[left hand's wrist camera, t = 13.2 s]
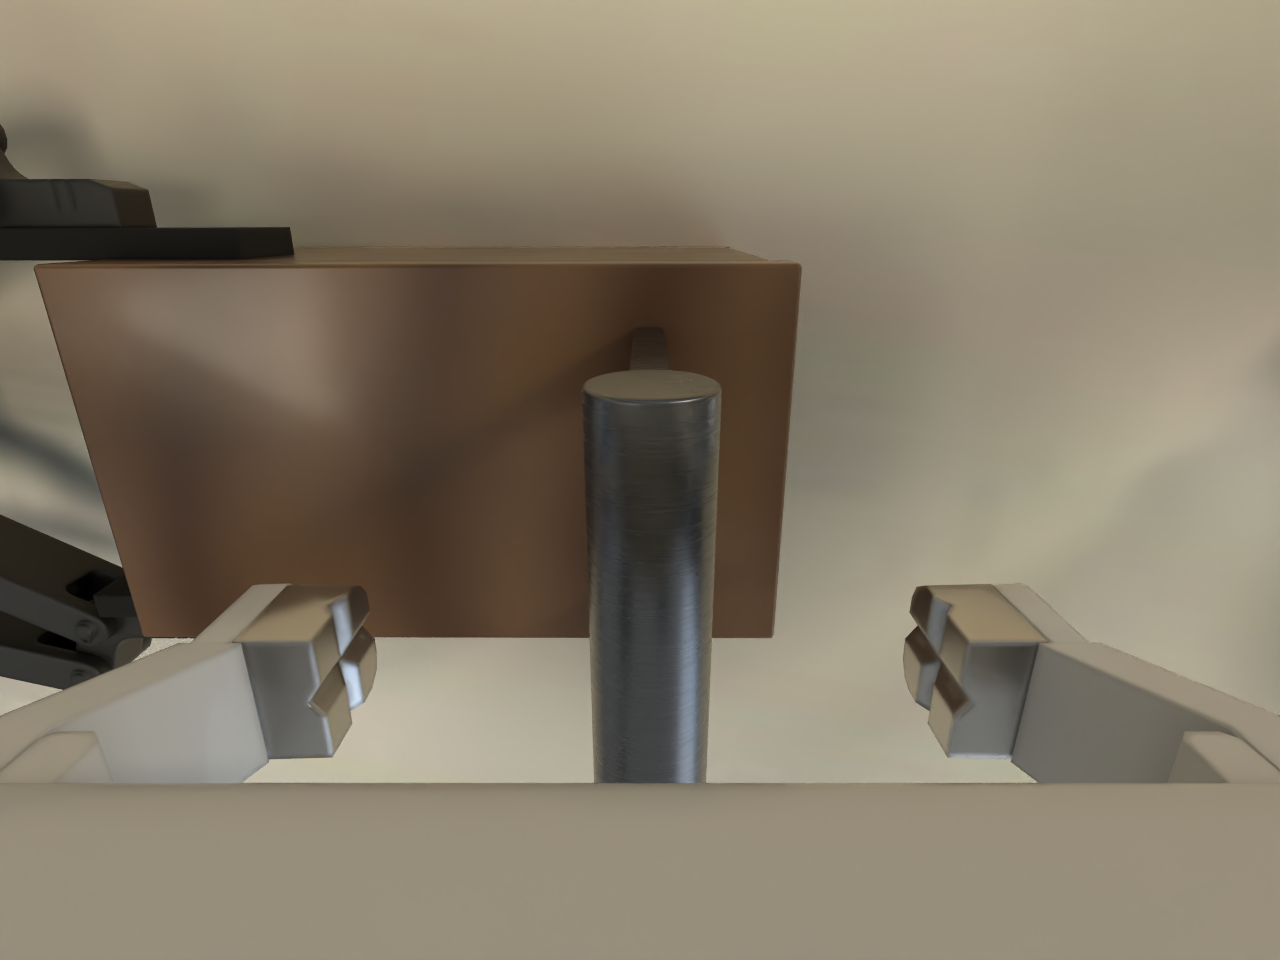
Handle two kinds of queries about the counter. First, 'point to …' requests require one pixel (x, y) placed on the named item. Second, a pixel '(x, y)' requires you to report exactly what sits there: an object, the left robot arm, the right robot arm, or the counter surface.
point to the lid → (454, 455)
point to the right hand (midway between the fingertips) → (301, 429)
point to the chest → (487, 254)
